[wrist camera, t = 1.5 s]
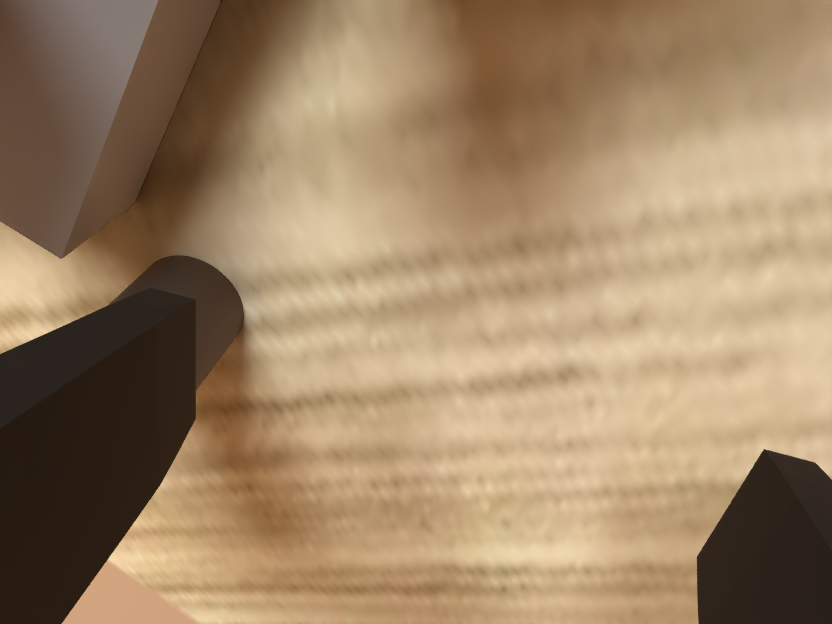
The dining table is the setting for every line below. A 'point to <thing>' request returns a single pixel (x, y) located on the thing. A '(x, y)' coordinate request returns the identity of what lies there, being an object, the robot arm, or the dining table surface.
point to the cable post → (197, 303)
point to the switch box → (87, 107)
